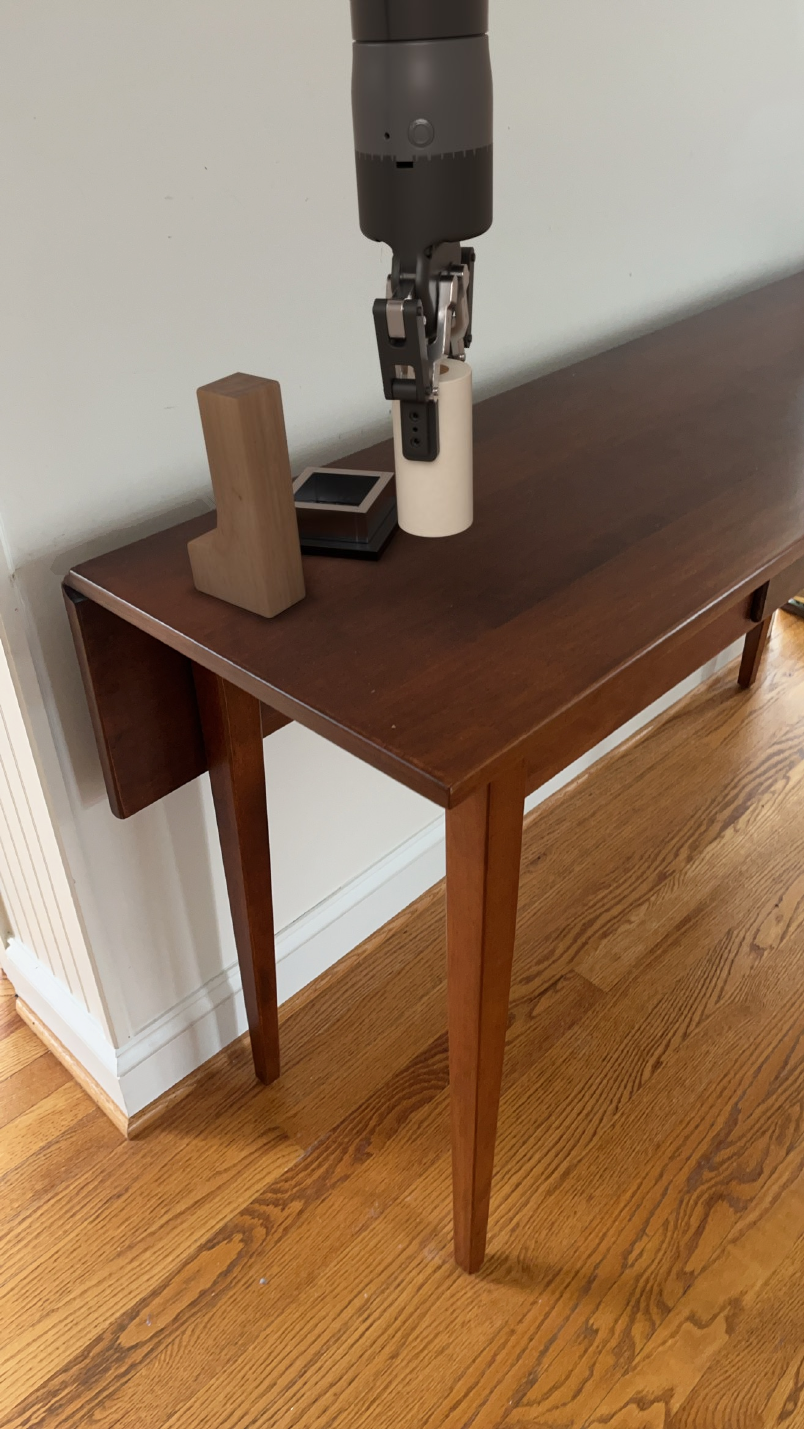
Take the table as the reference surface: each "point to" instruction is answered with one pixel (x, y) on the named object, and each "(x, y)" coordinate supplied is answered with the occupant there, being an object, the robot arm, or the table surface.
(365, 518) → the stand
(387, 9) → the robot arm
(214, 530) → the wooden block
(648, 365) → the table surface
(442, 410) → the paper roll
